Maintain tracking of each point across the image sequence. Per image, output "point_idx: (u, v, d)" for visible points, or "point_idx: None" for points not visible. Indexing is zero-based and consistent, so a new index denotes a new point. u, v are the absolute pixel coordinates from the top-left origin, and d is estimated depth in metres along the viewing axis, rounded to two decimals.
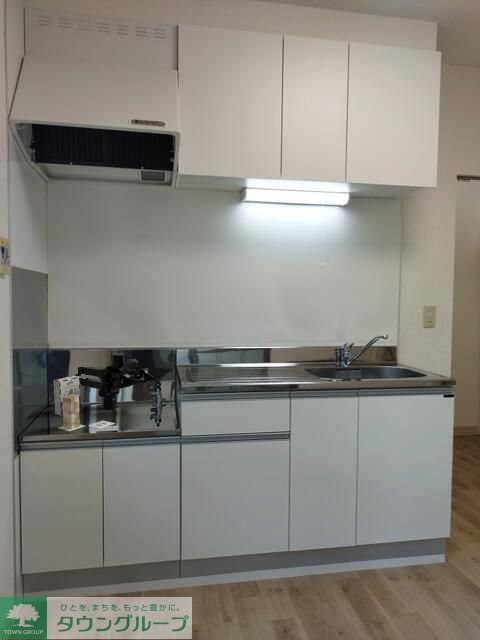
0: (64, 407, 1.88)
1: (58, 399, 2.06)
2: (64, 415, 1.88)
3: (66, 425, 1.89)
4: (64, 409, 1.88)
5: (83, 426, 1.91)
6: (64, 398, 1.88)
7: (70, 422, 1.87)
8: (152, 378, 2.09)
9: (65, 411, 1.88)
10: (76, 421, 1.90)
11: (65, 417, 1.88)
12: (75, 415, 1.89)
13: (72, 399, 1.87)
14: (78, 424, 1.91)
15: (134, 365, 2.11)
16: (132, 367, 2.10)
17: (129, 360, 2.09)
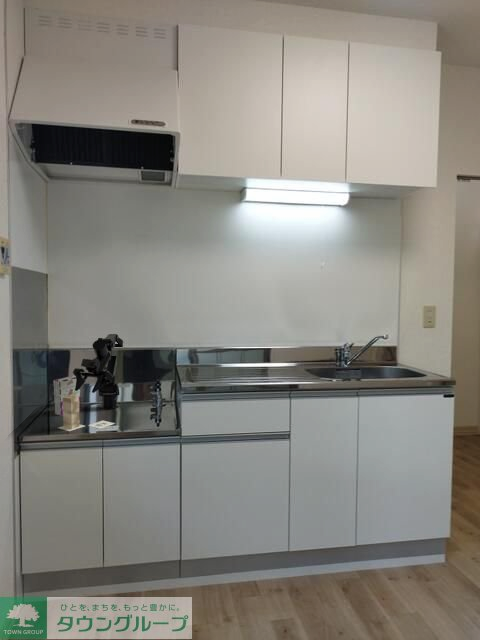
0: (64, 407, 1.88)
1: (58, 399, 2.06)
2: (64, 415, 1.88)
3: (66, 425, 1.89)
4: (64, 409, 1.88)
5: (83, 426, 1.91)
6: (64, 398, 1.88)
7: (70, 422, 1.87)
8: None
9: (65, 411, 1.88)
10: (76, 421, 1.90)
11: (65, 417, 1.88)
12: (75, 415, 1.89)
13: (72, 399, 1.87)
14: (78, 424, 1.91)
15: (90, 366, 1.98)
16: (89, 367, 1.98)
17: (84, 361, 1.97)
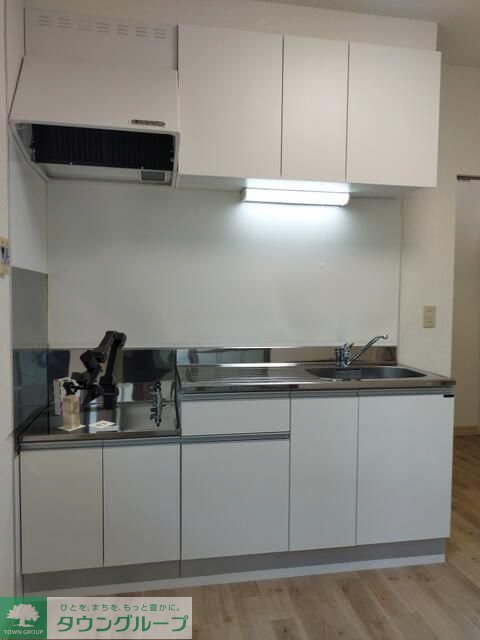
0: (64, 407, 1.88)
1: (58, 399, 2.06)
2: (64, 415, 1.88)
3: (66, 425, 1.89)
4: (64, 409, 1.88)
5: (83, 426, 1.91)
6: (64, 398, 1.88)
7: (70, 422, 1.87)
8: None
9: (65, 411, 1.88)
10: (76, 421, 1.90)
11: (65, 417, 1.88)
12: (75, 415, 1.89)
13: (72, 399, 1.87)
14: (78, 424, 1.91)
15: (80, 380, 1.92)
16: (79, 380, 1.93)
17: (73, 374, 1.92)
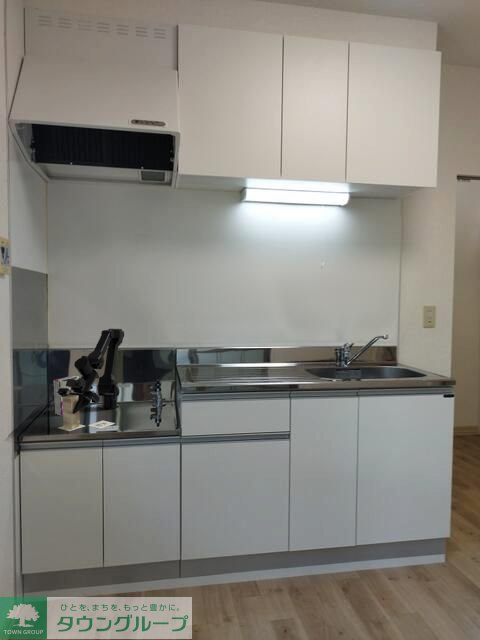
0: (64, 407, 1.88)
1: (58, 399, 2.06)
2: (64, 415, 1.88)
3: (66, 425, 1.89)
4: (64, 409, 1.88)
5: (83, 426, 1.91)
6: (64, 398, 1.88)
7: (70, 422, 1.87)
8: None
9: (65, 411, 1.88)
10: (76, 421, 1.90)
11: (65, 417, 1.88)
12: (75, 415, 1.89)
13: (72, 399, 1.87)
14: (78, 424, 1.91)
15: (75, 387, 1.90)
16: (74, 387, 1.91)
17: (68, 381, 1.89)
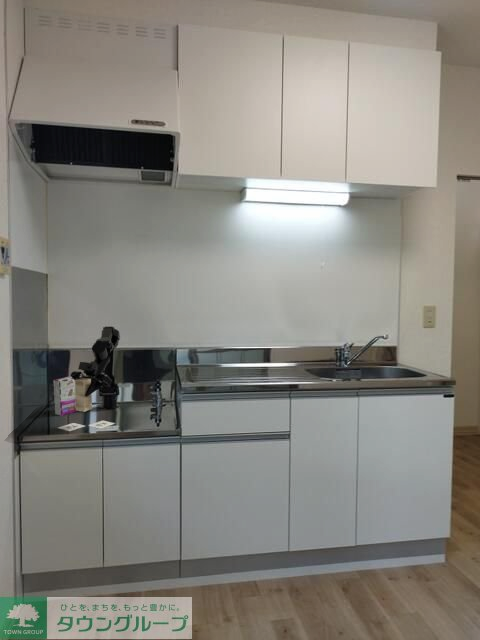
0: (77, 390, 1.89)
1: (58, 399, 2.06)
2: (77, 398, 1.90)
3: (78, 408, 1.90)
4: (77, 392, 1.89)
5: (83, 426, 1.91)
6: (77, 381, 1.89)
7: (82, 405, 1.89)
8: None
9: (77, 394, 1.89)
10: (88, 404, 1.91)
11: (78, 400, 1.89)
12: (87, 398, 1.90)
13: (84, 382, 1.88)
14: (90, 407, 1.92)
15: (88, 370, 1.91)
16: (87, 370, 1.91)
17: (81, 364, 1.90)
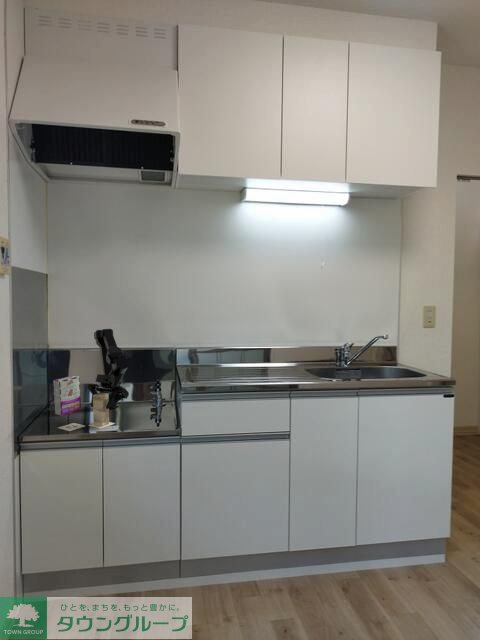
0: (95, 405, 1.91)
1: (58, 399, 2.06)
2: (95, 413, 1.92)
3: (96, 423, 1.92)
4: (94, 407, 1.91)
5: (83, 426, 1.91)
6: (94, 396, 1.91)
7: (100, 420, 1.91)
8: None
9: (95, 409, 1.91)
10: (106, 419, 1.93)
11: (95, 415, 1.92)
12: (105, 412, 1.92)
13: (102, 397, 1.90)
14: (108, 422, 1.94)
15: (105, 382, 1.93)
16: (104, 382, 1.94)
17: (98, 377, 1.92)
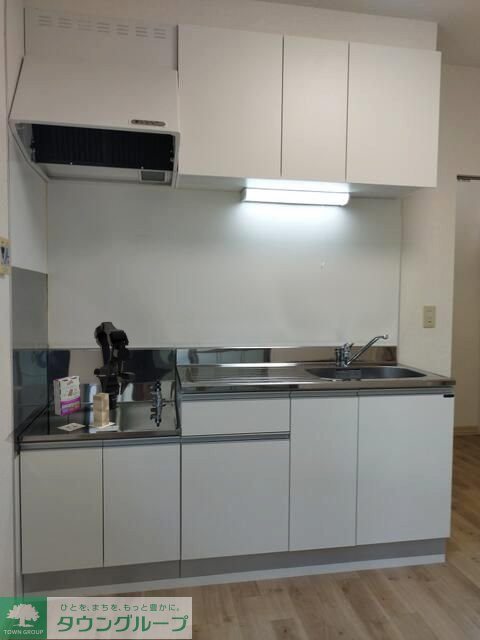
0: (95, 405, 1.91)
1: (58, 399, 2.06)
2: (95, 413, 1.92)
3: (96, 423, 1.92)
4: (94, 407, 1.91)
5: (83, 426, 1.91)
6: (94, 396, 1.91)
7: (100, 420, 1.91)
8: None
9: (95, 409, 1.91)
10: (106, 419, 1.93)
11: (95, 415, 1.92)
12: (105, 412, 1.92)
13: (102, 397, 1.90)
14: (108, 422, 1.94)
15: None
16: None
17: (102, 371, 1.95)
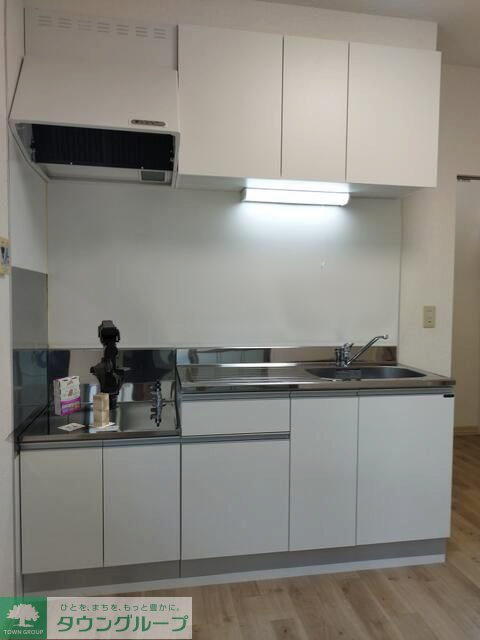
0: (95, 405, 1.91)
1: (58, 399, 2.06)
2: (95, 413, 1.92)
3: (96, 423, 1.92)
4: (94, 407, 1.91)
5: (83, 426, 1.91)
6: (94, 396, 1.91)
7: (100, 420, 1.91)
8: None
9: (95, 409, 1.91)
10: (106, 419, 1.93)
11: (95, 415, 1.92)
12: (105, 412, 1.92)
13: (102, 397, 1.90)
14: (108, 422, 1.94)
15: None
16: None
17: (96, 370, 1.94)
